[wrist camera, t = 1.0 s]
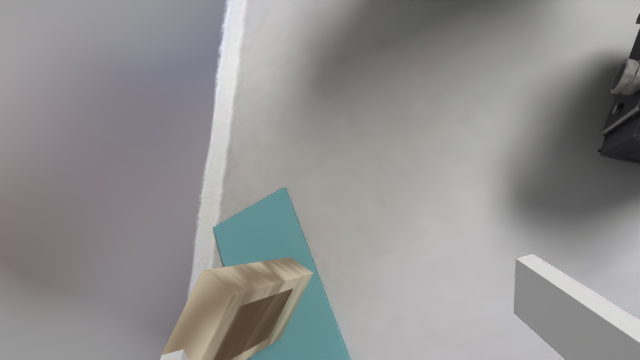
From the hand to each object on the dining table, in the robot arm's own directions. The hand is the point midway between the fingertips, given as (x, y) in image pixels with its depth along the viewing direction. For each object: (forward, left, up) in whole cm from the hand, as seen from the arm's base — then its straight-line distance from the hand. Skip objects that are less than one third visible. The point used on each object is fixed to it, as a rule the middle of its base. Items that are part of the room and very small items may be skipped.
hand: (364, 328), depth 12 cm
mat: (-4, -21, -26) cm, 34 cm away
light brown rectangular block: (-3, -19, -26) cm, 32 cm away
